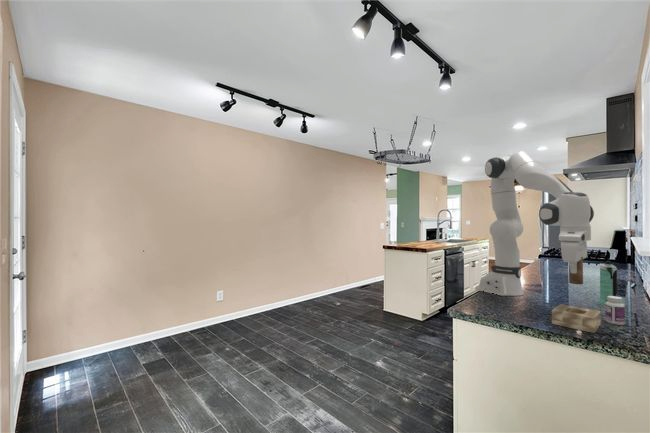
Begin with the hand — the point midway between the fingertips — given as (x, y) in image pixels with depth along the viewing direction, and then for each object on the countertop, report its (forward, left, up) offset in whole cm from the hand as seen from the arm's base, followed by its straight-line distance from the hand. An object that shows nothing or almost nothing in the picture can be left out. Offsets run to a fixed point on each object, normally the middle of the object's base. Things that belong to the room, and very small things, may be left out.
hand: (575, 272), depth 111 cm
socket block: (0, 0, -19) cm, 19 cm away
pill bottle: (+9, +13, -20) cm, 25 cm away
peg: (0, 0, -4) cm, 4 cm away
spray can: (+4, +39, -20) cm, 44 cm away
